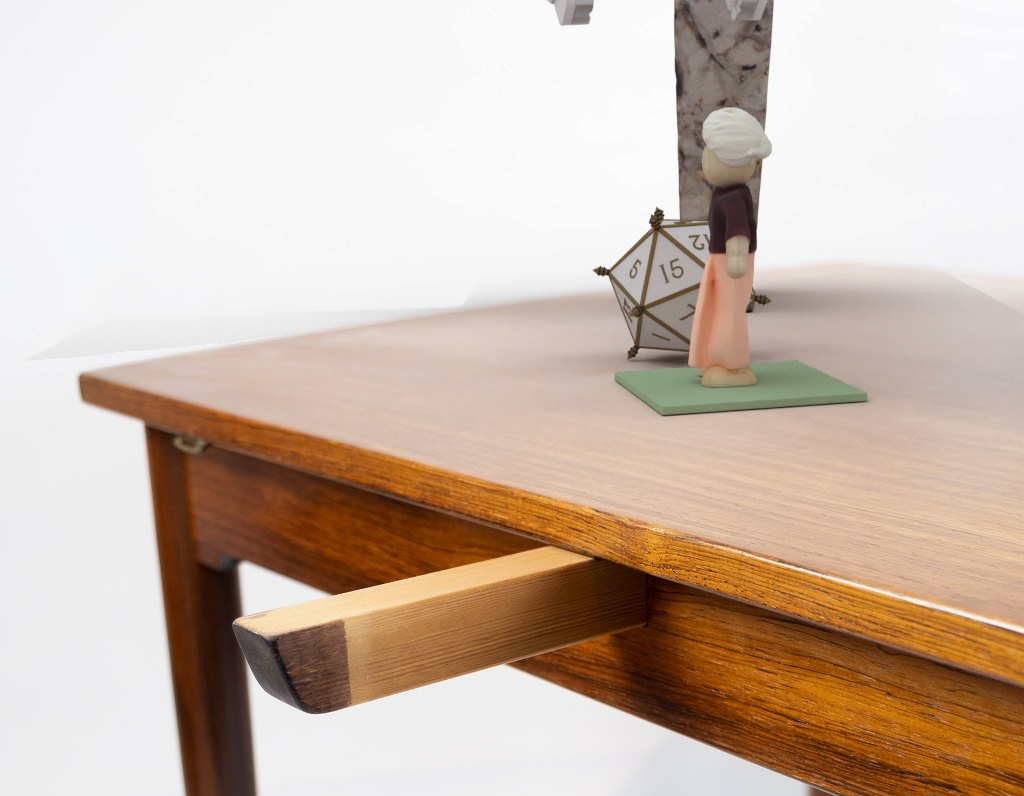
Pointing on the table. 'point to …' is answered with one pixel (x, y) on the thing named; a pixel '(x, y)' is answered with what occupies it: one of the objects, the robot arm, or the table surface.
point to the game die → (663, 283)
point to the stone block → (716, 88)
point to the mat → (738, 389)
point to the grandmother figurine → (728, 250)
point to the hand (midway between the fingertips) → (665, 13)
